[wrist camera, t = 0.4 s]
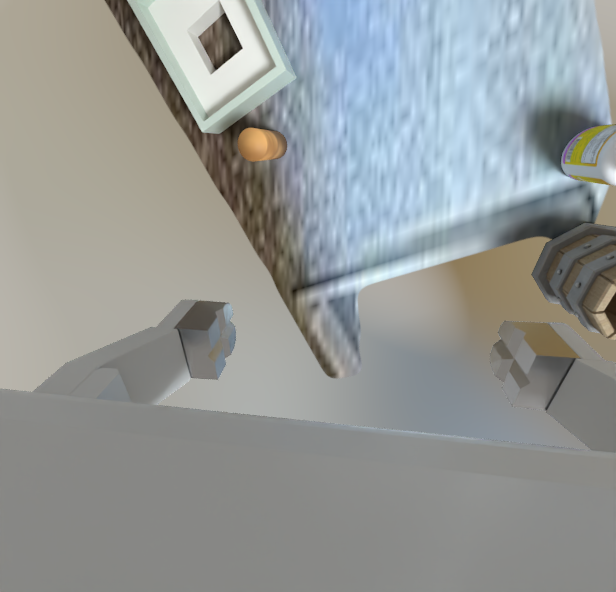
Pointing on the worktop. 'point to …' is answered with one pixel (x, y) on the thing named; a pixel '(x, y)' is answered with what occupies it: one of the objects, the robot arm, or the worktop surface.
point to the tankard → (582, 275)
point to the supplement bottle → (592, 155)
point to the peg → (261, 144)
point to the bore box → (197, 66)
